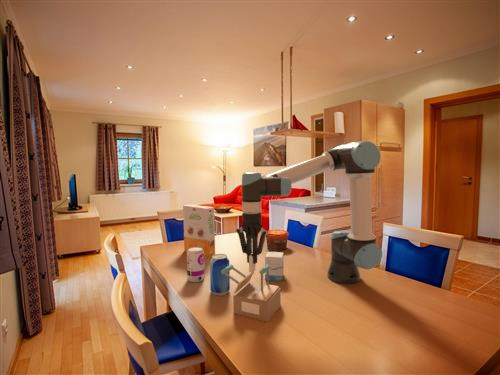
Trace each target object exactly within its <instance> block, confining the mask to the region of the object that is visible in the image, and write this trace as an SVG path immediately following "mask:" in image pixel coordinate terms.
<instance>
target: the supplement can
mask: <svg viewBox="0 0 500 375" xmlns="http://www.w3.org/2000/svg"><path fill="white" fill-rule="evenodd" d="M186 270H187V271H186V273H187V275H186V276H187V277H186V278H187V280H188V281H189V282H190V283H199V282H202V281H203V280H204V279H205V257H204V251H203V249H202V248H200V247H193V248H189V249H188V251H187V252H186Z"/></svg>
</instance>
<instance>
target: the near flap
mask: <svg viewBox="0 0 500 375" xmlns="http://www.w3.org/2000/svg"><path fill="white" fill-rule="evenodd" d="M269 268H270V266H269V265H266V266H265V265H264V266H263V267H262V268H261V269H260V270H259V274H260V284H261V291H260V292H259V293H258V294H257V295H256V296H255V297H254V299H256V300H260V301H265V302H267V301H268V300H269V299H270V297H271V296H272V295H273V294H274V293H275V291H276V290H277V289H278V288H280V286H279V285H274V284H270V280H269ZM266 271H267V280H266V284H265V285H266V286H265V287H264V288H263V285H264V275H265V272H266Z"/></svg>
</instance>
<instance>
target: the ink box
mask: <svg viewBox="0 0 500 375" xmlns="http://www.w3.org/2000/svg"><path fill="white" fill-rule="evenodd" d="M284 254H285V253H284V252H282V251H281V252H279V251H267V252H266V254H265V256H264V267H265V266H266V265H269V266H270V268H269V281H277V282H282V281H283V278H284V274H285V273H284V272H285V271H284V267H285V266H284ZM264 280H265V281H267V271H266V272H265V273H264Z"/></svg>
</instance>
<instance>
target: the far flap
mask: <svg viewBox="0 0 500 375" xmlns="http://www.w3.org/2000/svg"><path fill="white" fill-rule="evenodd" d="M231 270H233V271H235V273H237V274H239V275H240V276H241V277H243V279H241V280H240V281H238V280H237V279H236V278H234V277H233V276H231V275H229V274H227V272H229V271H231ZM254 272H255V271H254ZM254 272H249V274H247V275H245V274H244V273H242V272H241V271H240V270H238V269H237V268H235V267H234V265H233V264H229V266H228V267H226V268H224V269H223V270H222V271H221V273H222V274H223V275H224V274H225V275H226V276H227V277H229V278H230V280H232V281H233V282H234V283H236V285H237V286H236V288H235V290H234V292H233V295H234V294H235V293H236V292H238V291H239V290H240V289H241V288H242V287H243V286H244V285H246V284H247V283H248V282H250V281H251V279H252V277H253V275H254Z"/></svg>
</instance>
